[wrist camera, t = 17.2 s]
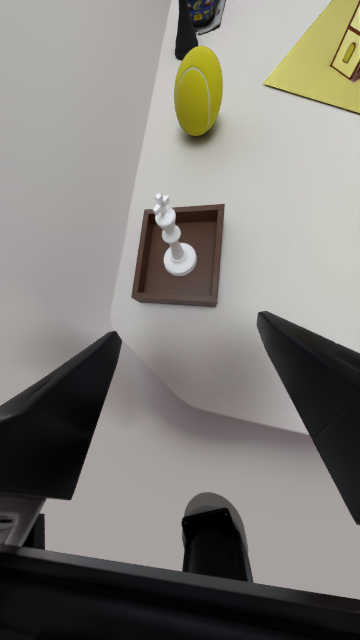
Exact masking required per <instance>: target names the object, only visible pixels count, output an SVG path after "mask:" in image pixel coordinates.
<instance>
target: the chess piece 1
mask: <svg viewBox="0 0 360 640" xmlns="http://www.w3.org/2000/svg"><path fill="white" fill-rule="evenodd" d="M155 199H156V202H157V205H156V206H155V207H154V208H153V212H154V214H156V216H155V220H156V223H157V224H158V225H159V226H160V227H161V228H162V229H163V232H162V238H163V240H164V241H165V242H167V243H170V248H169V249H168V250H167V251H166V253H165V255H164V265H165V268H166V270H167V271H168V272H169V273H170V274H172V275H174V276H183V275H186V274H188V273H190V272H191V271H192V270H193V269H194V267H195V265H196V262H197V256H196V253H195V250H194V249H193V248H192V247H191V246H190V245H188V244H186V243H179V241H178V239H179V237H180V235H181V231H180V229H179V228H178V226H176V225H175V219H176V214H175V211H174V210H173V209H172V208H170V207H166V205H167V204H168V203H169V202H170V199H169V196H167V195H164V196H163V197H162V195H161V194H159V193H158V194H157V195H156V196H155Z"/></svg>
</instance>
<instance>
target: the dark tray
mask: <svg viewBox="0 0 360 640" xmlns="http://www.w3.org/2000/svg"><path fill="white" fill-rule="evenodd" d="M224 206H225V204H217V205H203V206H189V207H175V208H172V209H173V210H174V211H175V214H176V219H175V225H176V226H178V228H179V229H180V231H181V235H180V237H179V239H178V241H179V243H186V244H188V245H190V246H191V247H192V248H193V249H194V250H195V253H196V256H197V262H196V265H195V267H194V269H193V270H192V271H191V272H190V273H188V274H186V275H183V276H174V275H172V274H170V273H169V272H168V271H167V270H166V268H165V265H164V255H165V253H166V251H167V250H168V249H169V248H170V243H167V242H165V241H164V240H163V238H162V232H163V229H162V228H161V227H160V226H159V225H158V224H157V223H156V220H155V216H156V214H154V212H153V209H147V210H144V216H143V223H142V230H141V236H140V243H139V250H138V257H137V263H136V270H135V277H134V284H133V290H132V297H131V298H133V299H135V300H137V301H139V302H145V303H160V304H176V305H192V306H208V307H216V304H217V295H218V282H219V270H220V257H221V244H222V232H223V219H224Z"/></svg>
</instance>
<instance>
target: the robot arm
mask: <svg viewBox="0 0 360 640" xmlns="http://www.w3.org/2000/svg"><path fill="white" fill-rule="evenodd" d="M257 328H258V331H259V334H260V336H261V339H262V342H263V344H264V347H265V349H266V352H267V354H268V356H269V357H270V359H271V361H272V363H273V365H274V367H275V369H276V371H277V373H278V375H279V377H280V379H281V381H282V382H283V384H284V386H285V388H286V390H287V392H288V394H289V396H290V398H291V400H292V402H293V404H294V406H295V407H296V409H297V411H298V413H299V415H300V417H301V419H302V421H303V423H304V425H305V427H306V429H307V431H308V432H309V434H310V436H311V438H312V439H313V442H314V444H315V446H316V448H317V450H318V452H319V454H320V456H321V458H322V460H323V462H324V463H325V465H326V467H327V469H328V471H329V473H330V475H331V477H332V479H333V481H334V483H335V485H336V486H337V488H338V490H339V492H340V494H341V496H342V498H343V500H344V502H345V504H346V506H347V508H348V510H349V512H350V514H351V515H352V517H353V519H354V521H355V522H356V524H357V525H360V353H358V352H355V351H353V350H351V349H349V348H346V347H344V346H342V345H340V344H336V343H335V342H333V341H331V340H329V339H327V338H324V337H322V336H320V335H318V334H316V333H313V332H311V331H309V330H307V329H305V328H303V327H300V326H298V325H296V324H294V323H292V322H289V321H287V320H285V319H283V318H281V317H279V316H276V315H274V314H272V313H270V312H268V311H262V312H259V313H258V317H257ZM121 344H122V340H121V338H120V337H119V335H118V333H117V332H116V331H112V332H109V333H107V334H106V335H104V336H103V337H101V338H100V339H98V340H97V341H96V342H94V343H93V344H91V345H90V346H88V347H87V348H86V349H84V350H83V351H81V352H80V353H79V354H77V355H76V356H74V357H73V358H71V359H70V360H69V361H67V362H66V363H64V364H63V365H61V366H60V367H58V368H57V369H56V370H54V371H53V372H51V373H50V374H49V375H47V376H45V377H44V378H42V379H41V380H40V381H38V382H37V383H35V384H33V385H32V386H30V387H29V388H28V389H26V390H24V391H23V392H21V393H20V394H18V395H17V396H15V397H14V398H12V399H10V400H9V401H7V402H6V403H4V404H3V405H1V406H0V640H360V600H359V599H352V598H346V597H340V596H333V595H327V594H321V593H314V592H308V591H302V590H295V589H289V588H282V587H276V586H270V585H263V584H257V583H253V577H252V572H251V567H250V562H249V557H248V553H247V551H246V548H245V545H244V542H243V539H242V537H241V534H240V532H239V530H238V529H237V530H236V528H235V525H234V522H233V519H232V516H231V514H230V511H229V509H228V508H226V507H224V508H219V509H215V510H211V511H206V512H202V513H197V514H193V515H189V516H184V517H183V518H182V523H181V525H182V529H183V532H184V536H185V539H186V542H185V552H184V561H183V570H182V572H181V571H173V570H167V569H161V568H155V567H149V566H143V565H136V564H130V563H123V562H117V561H110V560H104V559H98V558H92V557H85V556H79V555H73V554H66V553H60V552H53V551H47V550H45V531H44V530H45V521H44V514H40V510H41V509H42V507H43V505H44V503H45V501H46V499H47V498H48V499H60V500H71V498H72V496H73V494H74V491H75V488H76V485H77V482H78V479H79V476H80V473H81V470H82V467H83V464H84V461H85V458H86V455H87V452H88V449H89V446H90V443H91V440H92V437H93V434H94V431H95V428H96V425H97V422H98V419H99V416H100V413H101V410H102V407H103V404H104V401H105V398H106V395H107V392H108V389H109V386H110V383H111V380H112V377H113V374H114V371H115V368H116V365H117V362H118V358H119V353H120V349H121ZM225 513H227V514H225ZM184 522H185V523H184Z"/></svg>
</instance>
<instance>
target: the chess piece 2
mask: <svg viewBox="0 0 360 640" xmlns="http://www.w3.org/2000/svg"><path fill="white" fill-rule="evenodd" d="M197 46H198V41H197V39H196V33H195V30H194V27H193V24H192V20H191V17H190V13H189V9H188V3H187V0H179V20H178V30H177V37H176V48H175V55H176V57H177V58H178V59H181V60H183V59H184V57H185V56H186V55H187V54H188V53H189V52H190V51H191V50H192V49H193V48H195V47H197Z"/></svg>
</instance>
